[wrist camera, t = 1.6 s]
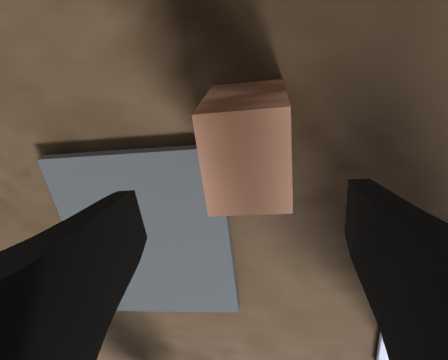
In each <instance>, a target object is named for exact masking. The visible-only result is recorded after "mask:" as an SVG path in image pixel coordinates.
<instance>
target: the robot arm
mask: <svg viewBox="0 0 448 360" xmlns="http://www.w3.org/2000/svg"><path fill="white" fill-rule="evenodd" d="M345 235H346V240H347V244H348V248H349V252H350V255H351V259H352V262H353V264H354V267H355V269H356V272H357V274H358V277H359V279H360V282H361V284H362V286H363V289H364V291H365V294H366V296H367V299H368V301H369V304H370V306H371V308H372V311H373V313H374V316H375V318H376V321H377V324H378V326H379V329H380V337H379V343H378V350H377V356H376V360H448V223H446V222H444V221H442V220H440V219H438V218H436V217H434V216H433V215H431V214H429V213H427V212H425V211H423V210H421V209H420V208H418V207H416V206H414V205H413V204H411V203H409V202H407V201H406V200H404V199H402V198H401V197H399V196H397V195H396V194H394V193H392V192H391V191H389V190H388V189H386V188H384V187H383V186H381V185H379V184H378V183H376V182H374V181H372V180H370V179H354V180H348V191H347V206H346V221H345ZM146 240H147V234H146V230H145V227H144V223H143V219H142V216H141V212H140V208H139V205H138V201H137V197H136V194H135V190H128V191H117V192H115V193H112V194H110V195H108V196H106V197H104V198H102V199H101V200H99V201H97V202H95V203H93V204H92V205H90V206H88V207H87V208H85V209H83V210H81V211H80V212H78V213H76V214H74V215H73V216H71V217H69V218H67V219H65V220H64V221H62V222H60V223H58V224H56V225H54V226H52V227H51V228H49V229H47V230H45V231H43V232H41V233H39V234H37V235H35V236H33V237H31V238H29V239H27V240H25V241H23V242H21V243H18V244H16V245H14V246H12V247H9V248H7V249H5V250H3V251H0V360H97V357H98V354H99V351H100V349H101V346H102V343H103V340H104V338H105V335H106V332H107V330H108V327H109V325H110V323H111V320H112V318H113V316H114V314H115V312H116V310H117V308H118V306H119V304H120V302H121V300H122V298H123V296H124V294H125V292H126V289H127V287H128V285H129V283H130V281H131V279H132V277H133V275H134V273H135V271H136V269H137V267H138V265H139V262H140V260H141V257H142V254H143V251H144V247H145V244H146Z"/></svg>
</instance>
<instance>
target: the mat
mask: <svg viewBox="0 0 448 360" xmlns="http://www.w3.org/2000/svg"><path fill="white" fill-rule="evenodd" d="M37 161H38V164H39V166H40V168H41V171H42V173H43V176H44V178H45V181H46V183H47V186H48V188H49V191H50V193H51V196H52V198H53V200H54V203H55V205H56V208H57V210H58V213H59V215H60V218H61V220H62V221H64V220H65V219H67V218H69V217H71V216H73V215H74V214H76V213H78V212H80V211H81V210H83V209H85V208H87V207H88V206H90V205H92V204H93V203H95V202H97V201H99V200H101V199H102V198H104V197H106V196H108V195H110V194H112V193H115V192H117V191H128V190H135V194H136V197H137V201H138V205H139V208H140V212H141V216H142V219H143V223H144V227H145V230H146V234H147V240H146V244H145V247H144V251H143V254H142V257H141V260H140V262H139V265H138V267H137V269H136V271H135V273H134V275H133V277H132V279H131V281H130V283H129V285H128V287H127V289H126V292H125V294H124V296H123V298H122V300H121V302H120V304H119V306H118V308H117V310H116V311H164V312H239V306H240V303H239V296H238V288H237V280H236V272H235V264H234V256H233V248H232V241H231V233H230V225H229V217H228V216H213V217H208V213H207V207H206V201H205V195H204V189H203V183H202V176H201V170H200V164H199V158H198V152H197V146H196V145H183V146H169V147H154V148H139V149H125V150H110V151H95V152H80V153H66V154H51V155H43V156H42V157H40V158H39V159H37Z"/></svg>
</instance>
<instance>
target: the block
mask: <svg viewBox="0 0 448 360" xmlns="http://www.w3.org/2000/svg"><path fill="white" fill-rule="evenodd" d="M192 121H193V127H194V133H195V139H196V146H197V152H198V158H199V164H200V170H201V176H202V183H203V189H204V195H205V201H206V207H207V213H208V217H213V216H241V215H269V214H293V190H292V142H291V106H290V102H289V99H288V95H287V92H286V88H285V85H284V81H283V79H275V80H264V81H254V82H243V83H233V84H223V85H212V86H211V88H210V89H209V91H208V92H207V93H206V95H205V96H204V98H203V99H202V101H201V102H200V103H199V105H198V106H197V108H196V109H195V111H194V112H193V113H192Z"/></svg>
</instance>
